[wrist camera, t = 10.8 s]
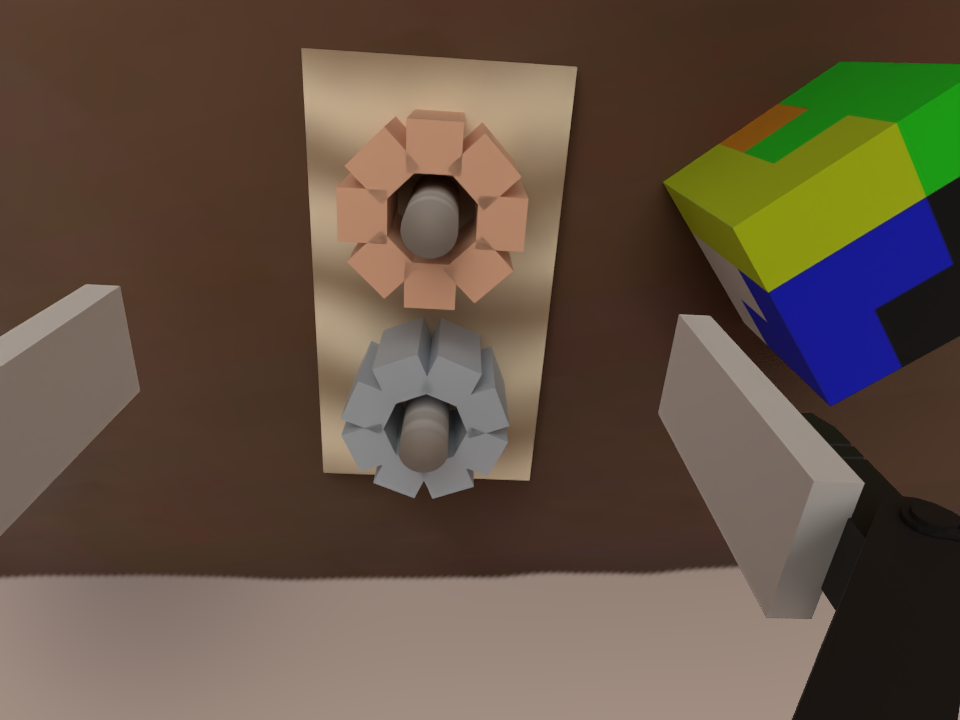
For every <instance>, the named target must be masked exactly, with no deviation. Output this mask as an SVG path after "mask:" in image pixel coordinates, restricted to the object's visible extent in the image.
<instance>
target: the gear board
mask: <svg viewBox="0 0 960 720" xmlns="http://www.w3.org/2000/svg"><path fill="white" fill-rule="evenodd" d="M301 49H302V68H303V88H304V107H305V126H306V145H307V164H308V184H309V203H310V222H311V241H312V260H313V280H314V299H315V318H316V337H317V356H318V376H319V395H320V414H321V433H322V452H323V472H324V473H345V474H370V475H375V473H376V468H377V467H373V468H370V469H367V470H363V471H359V469H358V467H357V465H356V463H355V461H354V459H353V457H352V455H351V453H350V451H349V449H348V447H347V446H346V444H345V442H344V440H343V438H342V436H341V435H342V432H343V429H344V426H345V423H346V421H345V420H342V419H341V417H342V414H343V411H344V408H345V405H346V402H347V399H348V396H349V393H350V390H351V387H352V385H353V382H354V379H355V376H356V373H357V371H358V369H359V367H360V365H361V362H362V360H363V358H364V356H365V354H366V351H367V349H368V347H369V345H370V342H371V341H373V342H375V343H378V344H380V341H381V337H382V334H383V331H384V330H385V329H388V328H391V327H394V326H397V325H400V324H403V323H406V322H409V321H412V320H415V319H418V318H421V317H424V319H425V322H426V324H427V327H428V329H429V331H430V334H431V336H432V335H433V333H434V331H435V329H436V327H437V325H438V323H439V321H440V319H441V318H443V319H445V320H448V321H450V322H452V323H455V324H457V325H459V326H461V327H464V328H466V329H468V330H470V331H473V332H475V333H477V334H479V335H480V348H481V350H482V349H485V348H488V347H492V350H493V352H494V355H495V358H496V361H497V363H498V366H499V369H500V371H501V374H502V377H503V379H504V383H505V392H506V400H507V409H508V417H509V425H510V426H508V427H506V428H507V438H508V443H507V445H506V447H505V448H504V450H503V452H502V453H501V455H500V457H499V458H498V460H497V462H496V463H495V465H494V467H493V469H492V470H491V472H490V474H489V475H488V476H485V475H483V474H480V473H477V472H475V471H474V479H500V480H526V481H530V472H531V464H532V455H533V446H534V438H535V429H536V420H537V412H538V403H539V394H540V386H541V377H542V368H543V360H544V351H545V342H546V334H547V325H548V316H549V308H550V299H551V290H552V282H553V273H554V265H555V256H556V247H557V239H558V230H559V221H560V213H561V204H562V195H563V187H564V178H565V169H566V161H567V152H568V143H569V135H570V126H571V117H572V109H573V100H574V91H575V83H576V74H577V67H573V66H558V65H543V64H529V63H514V62H499V61H485V60H470V59H455V58H440V57H426V56H411V55H396V54H382V53H367V52H352V51H338V50H323V49H308V48H301ZM415 109H422V110H437V111H452V112H464V132H463V140H464V139H465V138H466V137H467V136H468V135H469V134H470V133H471V132H472V131H473V130H474V129H475V128H477V127H478V126H479V125H480V124H481V123H482V122H483V123H484V124H485V125H486V127H487V128H488V129H489V130H490V131H491V133H492V134H493V135H494V136H495V137H496V139H497V140H498V141H499V142H500V144H501V145H502V146H503V147H504V148H505V150H506V151H507V152H508V153H509V154H510V156H511V157H512V158H513V159H514V161H515V163H516V165H517V167H518V170H519V172H520V174H521V176H522V177H521V178H520V180H521V183H522V185H523V187H524V190H525V192H526V194H527V196H528V210H527V221H526V231H525V242H524V252H515V251H509V253H510V258H511V262H512V267H513V272H512V273H510V274H509V275H508V276H507V277H506V278H504V279H503V280H502V281H501V282H500V283H498V284H497V285H496V286H495V287H494V288H492V289H491V290H490V291H489V292H488V293H487V294H485V295H484V296H483V297H482V298H481V299H479V300H478V301H477V302H476V303H474V302H473V301H472V300H471V299H470V298H469V297H468V296H467V295H466V294H465V293H464V292H463V291H462V290H461V289H460V288H459V287H458V285H457V284H456V294H455V310H444V309H425V308H405V307H404V282H403V283H402V284H400V285H399V286H398V287H397V288H396V289H395V290H394V291H392V292H391V293H390V294H389V295H388V296H387V297H386V298H385V299H384V298H383V297H382V296H381V295H380V294H379V293H378V292H377V291H376V290H375V289H374V288H373V287H372V286H371V285H370V284H369V283H368V282H367V281H366V280H365V279H364V278H363V277H362V276H361V275H360V274H359V273H358V272H357V271H356V270H355V269H354V268H353V267H352V266H351V265H350V264H349V263H348V262H347V261H348V259H349V257H350V255H351V254H352V252H353V250H354V248H355V247H356V245H357V243H355V242H338V232H337V201H336V187H337V186H338V185H339V184H340V183H341V182H342V181H343V180H344V179H345V178H346V177H347V176H348V175H349V173H350V171H349V170H348V169H347V168H346V167H345V165H346V164H347V163H348V162H349V161H350V160H351V159H352V158H353V157H354V156H355V155H356V154H357V153H358V152H359V151H360V150H361V149H362V148H363V147H364V146H365V145H366V144H367V143H368V142H369V141H370V140H371V139H372V138H373V137H374V136H375V135H376V134H377V133H378V132H379V131H380V130H381V129H382V128H383V127H384V126H385V125H386V124H388V123H389V122H390V121H391V120H392V119H393V118H394V117H395V116H396V117H397V118H398V119H399V120H400V121H401V123H402V124H403V125H404V126H405V127H406V118H407V117H408V116H409V115H410V114H411V113H412V112H413V111H414V110H415ZM398 213H399V214H400V215H401V216H402V217H403V219H402V222H401V228H400V231H401V237H402V240H403V242H404V244H405V246H406V247H407V248H408V249H409V250H410V251H411V252H412V253H413V254H415V255H417V256H419V257H422V258H427V259H433V258H438V257H441V256H443V255H445V254H446V253H448V252H449V251H450V250H451V249H452V248H453V246H454V245H455V243H456V240H457V237H458V230H459V229H460V228H462V227H463V226H464V225H465V224H466V223H467V222H468V221H469V220H471V219H472V218H473V217H474V215H475V200H474V199H473V198H472V197H471V196H470V195H469V193H468V192H467V191H466V190H465V189H464V188H463V187H462V185H461V184H460V183H459V182H458V181H457V180H456V179H455V177H454V176H453V175H436V174H420V173H414V174H413V175H412V176H411V177H410V178H409V179H408V180H407V181H405V182H404V183H403V184H402V185H401V186H400V187H399V188H398ZM402 404H403V407H404V408H406V409H405V415H404V421H403V427H402V433H401V439H400V444H399V457H400V460H401V461H402V463H403V464H404V465H405V466H406V467H407V468H409V469H410V470H413V471H416V472H421V473H427V472H432V471H435V470H437V469H438V468H440V467H441V466H442V465H443V464H444V463H445V461H446V459H447V454H448V433H449V411H452V410H455V409H456V406H454V405H452V404H449V403H447V402H444V401H442V400H440V399H437V398H435V397H432V396H430V395H427V394H425V395H422V396H419V397H416V398H413V399H409V400H406V401H403V402H402Z"/></svg>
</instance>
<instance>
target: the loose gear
mask: <svg viewBox="0 0 960 720" xmlns="http://www.w3.org/2000/svg"><path fill="white" fill-rule="evenodd" d="M463 132H464V112H452V111H437V110H422V109H415V110H414V111H413V112H412V113H411V114H410V115H409V116H408V117H407V118H406V127H405V126H404V125H403V124H402V123H401V121H400V120H399V119H398V118H397V117H396V116H395V117H394V118H393V119H392V120H391V121H390V122H389V123H388V124H386V125H385V126H384V127H383V128H382V129H381V130H380V131H379V132H378V133H377V134H376V135H375V136H374V137H373V138H372V139H371V140H370V141H369V142H368V143H367V144H366V145H365V146H364V147H363V148H362V149H361V150H360V151H359V152H358V153H357V154H356V155H355V156H354V157H353V158H352V159H351V160H350V161H349V162H348V163H347V164H346V165H345V167H346V168H347V169H348V170H349V171H350V173H349V175H348V176H347V177H346V178H345V179H344V180H343V181H342V182H341V183H340V184H339V185H338V186H337V187H336V201H337V232H338V242H355V243H357V245H356V247H355V248H354V250H353V252H352V254H351V255H350V257H349V259H348V261H347V262H348V263H349V264H350V265H351V266H352V267H353V268H354V269H355V270H356V271H357V272H358V273H359V274H360V275H361V276H362V277H363V278H364V279H365V280H366V281H367V282H368V283H369V284H370V285H371V286H372V287H373V288H374V289H375V290H376V291H377V292H378V293H379V294H380V295H381V296H382V297H383V298H384V299H385V298H386V297H387V296H388V295H389V294H390V293H391V292H392V291H394V290H395V289H396V288H397V287H398V286H399V285H400V284H402V283H403V282H404V307H405V308H425V309H444V310H455V294H456V284H457V285H458V287H459V288H460V289H461V290H462V291H463V292H464V293H465V294H466V295H467V296H468V297H469V298H470V299H471V300H472V301H473V302H474V303H476V302H477V301H478V300H479V299H481V298H482V297H483V296H484V295H485V294H487V293H488V292H489V291H490V290H491V289H492V288H494V287H495V286H496V285H497V284H498V283H500V282H501V281H502V280H503V279H504V278H506V277H507V276H508V275H509V274H510V273H512V272H513V267H512V262H511V258H510V253H509V251H515V252H524V242H525V231H526V221H527V210H528V196H527V194H526V192H525V190H524V187H523V185H522V183H521V180H520V178H521V177H522V176H521V174H520V172H519V170H518V167H517V165H516V163H515V161H514V159H513V158H512V157H511V156H510V154H509V153H508V152H507V151H506V150H505V148H504V147H503V146H502V145H501V144H500V142H499V141H498V140H497V139H496V137H495V136H494V135H493V134H492V133H491V131H490V130H489V129H488V128H487V127H486V125H485V124H484V123H483V122H482V123H481V124H480V125H479V126H478V127H477V128H475V129H474V130H473V131H472V132H471V133H470V134H469V135H468V136H467V137H466V138H465V139H464V140H463ZM414 173H420V174H436V175H453V176H454V177H455V179H456V180H457V181H458V182H459V183H460V184H461V185H462V187H463V188H464V189H465V190H466V191H467V192H468V193H469V195H470V196H471V197H472V198H473V199H474V200H475V215H474V217H473V218H472V219H471V220H469V221H468V222H467V223H466V224H465V225H464V226H463V227H462V228H460V229H459V230H458V237H457V240H456V243H455V245H454V246H453V248H452V249H451V250H450V251H449V252H448V253H446V254H445V255H443V256H441V257H438V258H433V259H427V258H422V257H419V256H417V255H415V254H413V253H412V252H411V251H410V250H409V249H408V248H407V247H406V246H405V244H404V242H403V240H402V237H401V231H400V228H401V222H402V219H403V217H402V216H401V215H400V214H399V213H398V188H399V187H400V186H401V185H402V184H403V183H404V182H405V181H407V180H408V179H409V178H410V177H411V176H412V175H413V174H414Z"/></svg>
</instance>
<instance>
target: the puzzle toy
mask: <svg viewBox="0 0 960 720" xmlns="http://www.w3.org/2000/svg"><path fill="white" fill-rule="evenodd" d="M663 184H664V185H665V187H666V189H667V190H668V192H669V194H670V196H671V197H672V199H673V201H674V203H675V204H676V206H677V208H678V210H679V211H680V213H681V215H682V216H683V218H684V220H685V222H686V223H687V225H688V227H689V229H690V230H691V232H692V234H693V235H694V237H695V239H696V241H697V242H698V244H699V246H700V248H701V249H702V251H703V253H704V254H705V256H706V258H707V260H708V261H709V263H710V265H711V267H712V268H713V270H714V272H715V273H716V275H717V277H718V279H719V280H720V282H721V284H722V286H723V287H724V289H725V291H726V292H727V294H728V296H729V298H730V299H731V301H732V303H733V305H734V306H735V308H736V310H737V312H738V313H739V315H740V317H741V318H742V320H743V322H744V323H745V324H746V325H747V326H748V327H749V328H750V329H751V330H752V331H753V332H754V333H755V334H756V335H757V336H758V337H759V338H760V339H761V340H762V341H763V342H764V343H765V344H766V345H767V346H768V347H770V348H771V349H772V350H773V351H774V352H775V353H776V354H777V355H778V356H779V357H780V358H781V359H782V360H783V361H784V362H785V363H786V364H787V365H788V366H789V367H790V368H791V369H792V370H793V371H794V372H795V373H796V374H797V375H798V376H799V377H800V378H802V379H803V380H804V381H805V382H806V383H807V384H808V385H809V386H810V387H811V388H812V389H813V390H814V391H815V392H816V393H817V394H818V395H819V396H820V397H821V398H822V399H823V400H824V401H825V402H826V403H827V404H828V405H829V406H832V405H834V404H836V403H838V402H840V401H841V400H843V399H845V398H847V397H849V396H851V395H852V394H854V393H856V392H858V391H860V390H862V389H863V388H865V387H867V386H869V385H871V384H873V383H874V382H876V381H878V380H880V379H882V378H884V377H885V376H887V375H889V374H891V373H893V372H894V371H896V370H898V369H900V368H902V367H904V366H905V365H907V364H909V363H911V362H913V361H915V360H916V359H918V358H920V357H922V356H924V355H926V354H927V353H929V352H931V351H933V350H935V349H937V348H938V347H940V346H942V345H944V344H946V343H948V342H949V341H951V340H953V339H955V338H957V337H959V336H960V64H927V63H880V62H839V63H837V64H836V65H834V66H833V67H831V68H830V69H829V70H827V71H826V72H824V73H823V74H821V75H820V76H818V77H817V78H815V79H814V80H812V81H811V82H809V83H808V84H806V85H805V86H803V87H802V88H801V89H799V90H798V91H796V92H795V93H793V94H792V95H790V96H789V97H787V98H786V99H784V100H783V101H781V102H780V103H778V104H777V105H776V106H774V107H773V108H771V109H770V110H768V111H767V112H765V113H764V114H762V115H761V116H759V117H758V118H756V119H755V120H753V121H752V122H751V123H749V124H748V125H746V126H745V127H743V128H742V129H740V130H739V131H737V132H736V133H734V134H733V135H731V136H730V137H728V138H727V139H726V140H724V141H723V142H721V143H720V144H718V145H717V146H715V147H714V148H712V149H711V150H709V151H708V152H706V153H705V154H703V155H702V156H701V157H699V158H698V159H696V160H695V161H693V162H692V163H690V164H689V165H687V166H686V167H684V168H683V169H681V170H680V171H678V172H677V173H676V174H674V175H673V176H671V177H670V178H668V179H667V180H665V181H664V182H663Z"/></svg>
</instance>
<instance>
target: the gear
mask: <svg viewBox="0 0 960 720" xmlns="http://www.w3.org/2000/svg"><path fill="white" fill-rule="evenodd" d="M425 394H427V395H430V396H432V397H435V398H437V399H440V400H442V401H444V402H447V403H449V404H452V405H454V406H456V409H455V410H452V411H449V433H448V454H447V459H446V461H445V463H444V464H443V465H442V466H441V467H440V468H438V469H437V470H435V471H432V472H427V473H421V472H416V471H413V470H410V469H409V468H407V467H406V466H405V465H404V464H403V463H402V461H401V460H400V457H399V444H400V439H401V433H402V427H403V421H404V415H405V409H406V408H404V407H403V404H402V402H403V401H406V400H409V399H413V398H416V397H419V396H422V395H425ZM341 419H342V420H345V421H346V423H345V426H344V429H343V432H342V435H341V436H342V438H343V440H344V442H345V444H346V446H347V447H348V449H349V451H350V453H351V455H352V457H353V459H354V461H355V463H356V465H357V467H358V469H359V471H363V470H367V469H370V468H373V467H377V468H376V473H375V478H374V482H373V483H375V484H378V485H380V486H383V487H386V488H388V489H391V490H394V491H396V492H399V493H402V494H404V495H407V496H410V497H412V498H415V496H416V494H417V492H418V490H419V489H420V487H421V485H422V483H423V481H424V482H425V484H426V486H427V488H428V490H429V492H430V495H431V497H432V499H434V498H437V497H441V496H444V495H447V494H451V493H454V492H458V491H461V490H464V489H468V488H471V487H474V471H475V472H477V473H480V474H483V475H485V476H488V475H489V474H490V472H491V470H492V469H493V467H494V465H495V463H496V462H497V460H498V458H499V457H500V455H501V453H502V452H503V450H504V448H505V447H506V445H507V443H508V438H507V428H506V427H508V426H510V425H509V417H508V409H507V400H506V392H505V383H504V379H503V377H502V374H501V371H500V369H499V366H498V363H497V361H496V358H495V355H494V352H493V350H492V347H488V348H485V349H482V350H481V348H480V335H479V334H477V333H475V332H473V331H470V330H468V329H466V328H464V327H461V326H459V325H457V324H455V323H452V322H450V321H448V320H445V319H443V318H441V319H440V321H439V323H438V325H437V327H436V329H435V331H434V333H433V335H432V336H431V334H430V331H429V329H428V327H427V324H426V322H425V319H424V317H421V318H418V319H415V320H412V321H409V322H406V323H403V324H400V325H397V326H394V327H391V328H388V329H385V330H384V331H383V334H382V337H381V341H380V344H378V343H375V342H373V341H371V342H370V345H369V347H368V349H367V351H366V354H365V356H364V358H363V360H362V362H361V365H360V367H359V369H358V371H357V373H356V376H355V379H354V382H353V385H352V387H351V390H350V393H349V396H348V399H347V402H346V405H345V408H344V411H343V414H342V417H341Z"/></svg>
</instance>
